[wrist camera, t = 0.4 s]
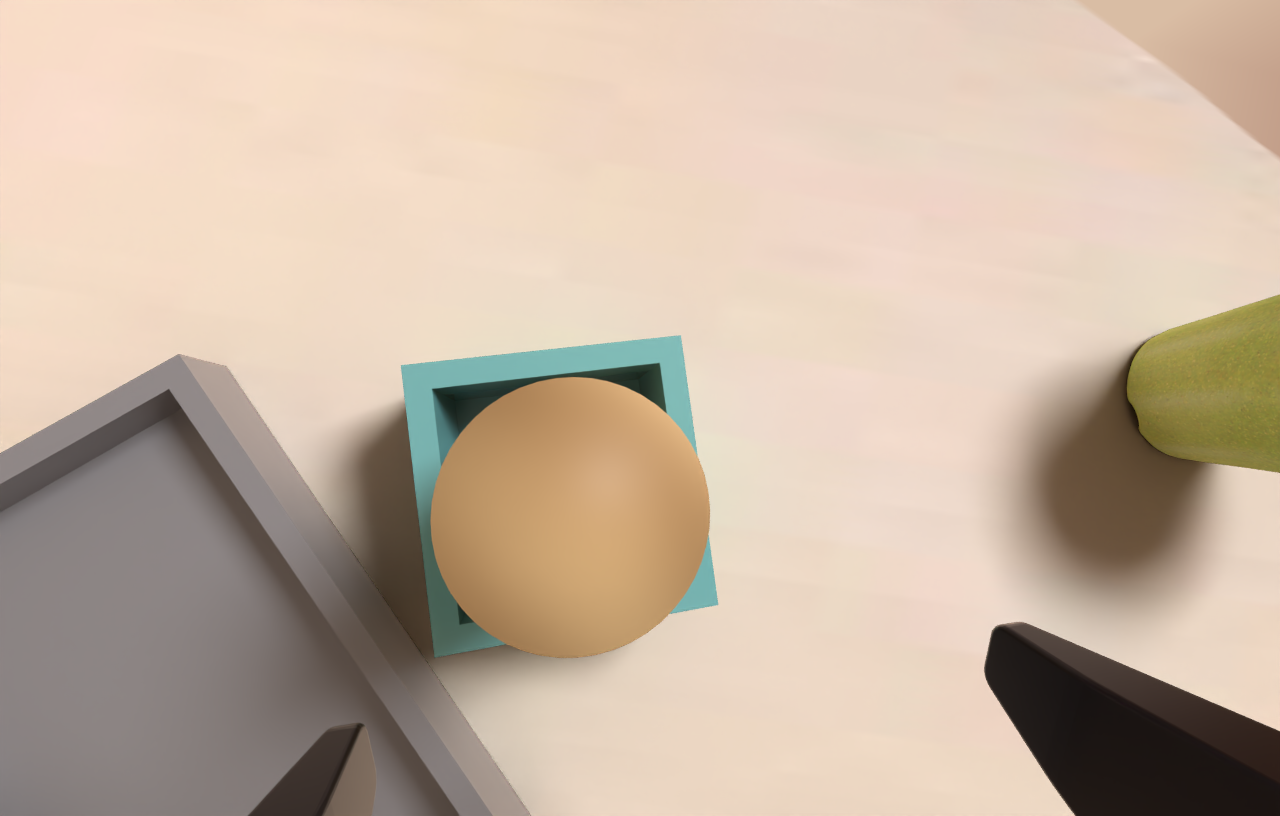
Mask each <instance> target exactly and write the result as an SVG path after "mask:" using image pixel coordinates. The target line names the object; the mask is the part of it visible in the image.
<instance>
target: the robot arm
mask: <svg viewBox="0 0 1280 816" xmlns="http://www.w3.org/2000/svg"><path fill="white" fill-rule="evenodd" d="M984 672H985V677H986V680H987V683H988V685H989V687H990V688H991V690H992V691H993V693H994V695H995V696H996V698H997V699H998V701H999V702H1000V704H1001V705H1002V707H1003V709H1004V710H1005V712H1006V713H1007V715H1008V716H1009V718H1010V720H1011V721H1012V723H1013V724H1014V726H1015V727H1016V729H1017V730H1018V732H1019V734H1020V735H1021V737H1022V738H1023V740H1024V741H1025V743H1026V745H1027V746H1028V748H1029V749H1030V751H1031V752H1032V754H1033V756H1034V757H1035V759H1036V760H1037V762H1038V763H1039V765H1040V766H1041V768H1042V770H1043V771H1044V773H1045V774H1046V776H1047V777H1048V779H1049V780H1050V782H1051V783H1052V785H1053V786H1054V787H1055V789H1056V790H1057V792H1058V793H1059V794H1060V796H1061V797H1062V798H1063V800H1064V801H1065V803H1066V804H1067V805H1068V807H1069V808H1070V809H1071V811H1072V812H1073V813H1074V815H1075V816H1280V731H1278V730H1276V729H1273V728H1271V727H1269V726H1266V725H1264V724H1261V723H1259V722H1257V721H1254V720H1252V719H1250V718H1247V717H1245V716H1243V715H1240V714H1238V713H1236V712H1233V711H1231V710H1229V709H1226V708H1224V707H1222V706H1219V705H1217V704H1215V703H1212V702H1210V701H1208V700H1205V699H1203V698H1201V697H1198V696H1196V695H1194V694H1191V693H1189V692H1187V691H1184V690H1182V689H1179V688H1177V687H1175V686H1172V685H1170V684H1168V683H1165V682H1163V681H1161V680H1158V679H1156V678H1154V677H1151V676H1149V675H1147V674H1144V673H1142V672H1140V671H1137V670H1135V669H1133V668H1130V667H1128V666H1126V665H1123V664H1121V663H1119V662H1116V661H1114V660H1112V659H1109V658H1107V657H1105V656H1102V655H1100V654H1098V653H1095V652H1093V651H1090V650H1088V649H1086V648H1083V647H1081V646H1079V645H1076V644H1074V643H1072V642H1069V641H1067V640H1065V639H1062V638H1060V637H1058V636H1055V635H1053V634H1051V633H1048V632H1046V631H1044V630H1041V629H1039V628H1037V627H1034V626H1032V625H1030V624H1027V623H1024V622H1014V623H1007V624H1001V625H998V626H996V627H995V628H994V629H993V630H992V633H991V637H990V642H989V647H988V652H987V656H986V661H985V666H984ZM375 792H376V767H375V763H374V758H373V754H372V749H371V745H370V740H369V736H368V731H367V729H366V727H365V725H364V724H362V723H352V724H346V725H339V726H334V727H331V728H329V729H328V730H326V731H325V732H324V733H323V734H322V735H321V736H320V737H319V738H318V739H317V740H316V742H315V743H314V744H313V745H312V746H311V747H310V748H309V749H308V750H307V751H306V752H305V754H304V755H303V756H302V757H301V758H300V759H299V760H298V761H297V762H296V763H295V764H294V766H293V767H292V768H291V769H290V770H289V771H288V772H287V773H286V774H285V775H284V776H283V777H282V779H281V780H280V781H279V782H278V783H277V784H276V785H275V786H274V787H273V788H272V789H271V791H270V792H269V793H268V794H267V795H266V796H265V797H264V798H263V799H262V800H261V801H260V803H259V804H258V805H257V806H256V807H255V808H254V809H253V810H252V811H251V812H250V813H249V815H248V816H372V812H373V805H374V799H375Z"/></svg>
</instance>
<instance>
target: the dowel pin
mask: <svg viewBox="0 0 1280 816" xmlns="http://www.w3.org/2000/svg"><path fill="white" fill-rule="evenodd" d="M709 523H710V505H709V494H708V489H707V484H706V480H705V475H704V472H703V470H702V467H701V464H700V461H699V458H698V457H697V455H696V453H695V451H694V449H693V447H692V445H691V443H690V441H689V440H688V439H687V437H686V436H685V434H684V433H683V431H682V430H681V428H680V427H679V426H678V425H677V424H676V423H675V422H674V421H673V420H672V418H671V417H670V416H669V415H668V414H667V413H665V412H664V411H663V410H662V409H661V408H660V407H658V406H657V405H656V404H655V403H653V402H652V401H650V400H648V399H647V398H645V397H644V396H642V395H641V394H639V393H637V392H635V391H632V390H630V389H628V388H626V387H624V386H621V385H618V384H615V383H612V382H609V381H603V380H598V379H593V378H581V377H567V378H554V379H549V380H544V381H539V382H536V383H533V384H530V385H527V386H524V387H521V388H519V389H516V390H514V391H512V392H510V393H508V394H506V395H504V396H503V397H501V398H499V399H498V400H496V401H495V402H493V403H492V404H490V405H489V406H488V407H486V408H485V409H484V410H483V411H482V412H481V413H479V414H478V415H477V416H476V417H475V418H474V419H473V420H472V421H471V422H470V423H469V424H468V425H467V427H466V428H465V429H464V430H463V431H462V432H461V434H460V435H459V436H458V438H457V439H456V441H455V442H454V444H453V445H452V447H451V448H450V450H449V452H448V454H447V456H446V458H445V460H444V462H443V464H442V466H441V469H440V472H439V475H438V478H437V481H436V484H435V489H434V494H433V498H432V506H431V536H432V543H433V548H434V553H435V558H436V561H437V564H438V567H439V570H440V572H441V575H442V577H443V579H444V581H445V583H446V585H447V587H448V589H449V591H450V593H451V594H452V596H453V597H454V599H455V600H456V601H457V603H458V604H459V606H460V607H461V608H462V610H463V611H464V612H465V613H466V614H467V615H468V616H469V617H470V618H471V619H472V620H473V621H474V622H475V623H476V624H477V625H479V626H480V627H481V628H482V629H484V630H485V631H486V632H487V633H489V634H490V635H492V636H493V637H495V638H497V639H499V640H500V641H502V642H504V643H505V644H508V645H510V646H512V647H515V648H517V649H520V650H522V651H526V652H529V653H533V654H537V655H541V656H549V657H557V658H578V657H585V656H592V655H597V654H601V653H604V652H608V651H611V650H615V649H617V648H619V647H622V646H624V645H626V644H629V643H631V642H633V641H634V640H636V639H638V638H639V637H641V636H643V635H644V634H646V633H647V632H649V631H650V630H651V629H653V628H654V627H655V626H656V625H658V624H659V623H660V622H661V621H662V620H663V619H664V618H665V617H666V616H667V615H668V614H669V613H670V612H671V611H672V610H673V609H674V608H675V607H676V606H677V604H678V603H679V602H680V601H681V599H682V598H683V597H684V595H685V594H686V592H687V591H688V589H689V587H690V585H691V584H692V582H693V580H694V579H695V576H696V574H697V572H698V569H699V567H700V565H701V562H702V559H703V556H704V552H705V549H706V545H707V539H708V533H709Z"/></svg>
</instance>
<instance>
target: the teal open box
mask: <svg viewBox="0 0 1280 816" xmlns="http://www.w3.org/2000/svg"><path fill="white" fill-rule="evenodd" d="M401 370H402V379H403V388H404V397H405V405H406V414H407V423H408V432H409V440H410V449H411V458H412V466H413V475H414V484H415V493H416V501H417V510H418V519H419V527H420V536H421V545H422V554H423V562H424V571H425V580H426V588H427V597H428V606H429V615H430V623H431V632H432V641H433V649H434V658H436V657H441V656H446V655H452V654H457V653H462V652H468V651H473V650H479V649H484V648H489V647H495V646H500V645H505V643H504V642H502V641H500V640H499V639H497V638H495V637H493V636H492V635H490V634H489V633H487V632H486V631H485V630H484V629H482V628H481V627H480V626H479V625H477V624H476V623H475V622H474V621H473V620H472V619H471V618H470V617H469V616H468V615H467V614H466V613H465V612H464V611H463V610H462V608H461V607H460V606H459V604H458V603H457V601H456V600H455V599H454V597H453V596H452V594H451V593H450V591H449V589H448V587H447V585H446V583H445V581H444V579H443V577H442V575H441V572H440V570H439V567H438V564H437V561H436V558H435V553H434V548H433V543H432V536H431V506H432V498H433V494H434V489H435V484H436V481H437V478H438V475H439V472H440V469H441V466H442V464H443V462H444V460H445V458H446V456H447V454H448V452H449V450H450V448H451V447H452V445H453V444H454V442H455V441H456V439H457V438H458V436H459V435H460V434H461V432H462V431H463V430H464V429H465V428H466V427H467V425H468V424H469V423H470V422H471V421H472V420H473V419H474V418H475V417H476V416H477V415H478V414H479V413H481V412H482V411H483V410H484V409H485V408H486V407H488V406H489V405H490V404H492V403H493V402H495V401H496V400H498V399H499V398H501V397H503V396H504V395H506V394H508V393H510V392H512V391H514V390H516V389H519V388H521V387H524V386H527V385H530V384H533V383H536V382H539V381H544V380H549V379H554V378H567V377H581V378H593V379H598V380H603V381H609V382H612V383H615V384H618V385H621V386H624V387H626V388H628V389H630V390H632V391H635V392H637V393H639V394H641V395H642V396H644V397H645V398H647V399H648V400H650V401H652V402H653V403H655V404H656V405H657V406H658V407H660V408H661V409H662V410H663V411H664V412H665V413H667V414H668V415H669V416H670V417H671V418H672V420H673V421H674V422H675V423H676V424H677V425H678V426H679V427H680V428H681V430H682V431H683V433H684V434H685V436H686V437H687V439H688V440H689V441H690V443H691V445H692V447H693V449H694V451H695V453H696V455H697V449H696V441H695V434H694V427H693V420H692V413H691V405H690V398H689V391H688V384H687V377H686V370H685V362H684V355H683V348H682V341H681V335H680V336H670V337H661V338H652V339H642V340H633V341H623V342H614V343H605V344H595V345H586V346H577V347H567V348H558V349H549V350H539V351H530V352H521V353H511V354H502V355H493V356H483V357H474V358H465V359H455V360H446V361H437V362H427V363H418V364H409V365H401ZM697 457H698V456H697ZM715 605H718V600H717V592H716V585H715V578H714V571H713V564H712V557H711V549H710V542H709V535H708V539H707V545H706V549H705V552H704V556H703V559H702V562H701V565H700V567H699V569H698V572H697V574H696V576H695V579H694V580H693V582H692V584H691V585H690V587H689V589H688V591H687V592H686V594H685V595H684V597H683V598H682V599H681V601H680V602H679V603H678V604H677V606H676V607H675V608H674V609H673V610H672V611H671V612H670V613H669V614H672V613H677V612H683V611H688V610H693V609H699V608H704V607H709V606H715Z"/></svg>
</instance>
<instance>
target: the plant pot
mask: <svg viewBox="0 0 1280 816" xmlns="http://www.w3.org/2000/svg"><path fill="white" fill-rule="evenodd" d="M1127 398H1128V400H1129V402H1130V403H1131V404H1132V406H1133V407H1134V409H1135V411H1136V413H1137V417H1138V421H1139V431H1140V433H1141V434H1142V435H1143V436H1144V438H1145V439H1146V440H1147V441H1148V442H1149V443H1150V444H1151V445H1153V446H1154V447H1155V448H1156V449H1158V450H1159V451H1161V452H1163V453H1165V454H1167V455H1170V456H1173V457H1176V458H1181V459H1188V460H1194V461H1200V462H1207V463H1214V464H1222V465H1230V466H1237V467H1244V468H1251V469H1258V470H1265V471H1271V472H1278V473H1280V295H1277V296H1274V297H1271V298H1267V299H1264V300H1261V301H1258V302H1255V303H1252V304H1249V305H1245V306H1242V307H1239V308H1236V309H1233V310H1230V311H1227V312H1224V313H1220V314H1217V315H1214V316H1211V317H1208V318H1205V319H1201V320H1198V321H1195V322H1191V323H1188V324H1185V325H1182V326H1179V327H1175V328H1172V329H1169V330H1167V331H1165V332H1163V333H1161V334H1159V335H1157V336H1155V337H1153V338H1151V339H1149V340H1148V341H1147V342H1146V343H1145V344H1144V345H1143V346H1142V347H1141V348H1140V349H1139V351H1138V352H1137V354H1136V355H1135V357H1134V359H1133V362H1132V364H1131V367H1130V371H1129V375H1128V380H1127Z"/></svg>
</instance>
